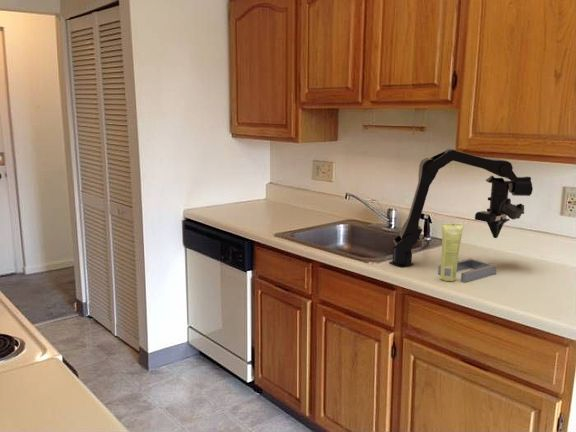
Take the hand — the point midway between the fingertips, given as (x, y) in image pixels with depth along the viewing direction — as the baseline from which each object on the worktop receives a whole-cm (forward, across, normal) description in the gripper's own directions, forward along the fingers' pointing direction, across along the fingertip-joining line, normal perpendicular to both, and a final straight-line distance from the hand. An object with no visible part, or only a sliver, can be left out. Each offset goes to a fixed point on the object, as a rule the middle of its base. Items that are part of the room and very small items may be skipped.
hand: (495, 237), depth 191 cm
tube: (+11, -25, 0) cm, 28 cm away
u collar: (+11, -15, 0) cm, 19 cm away
